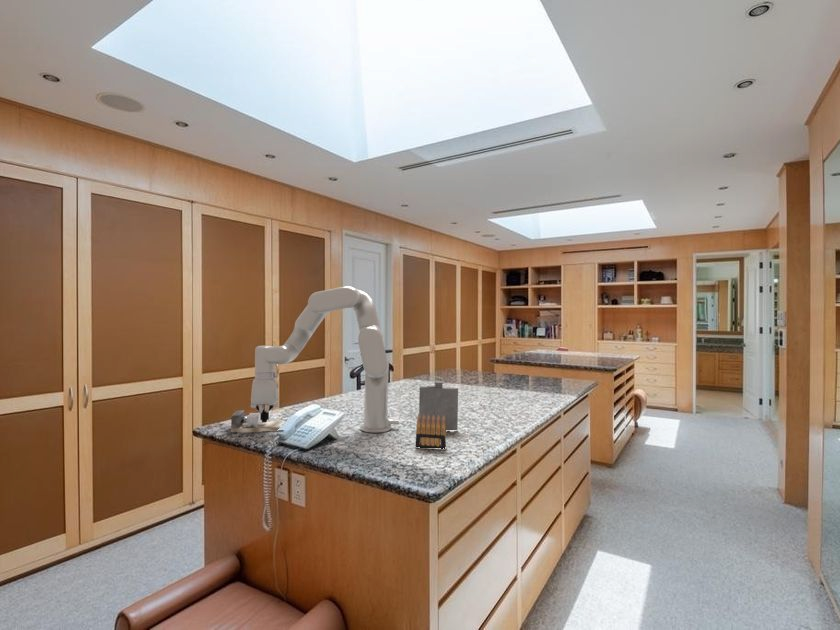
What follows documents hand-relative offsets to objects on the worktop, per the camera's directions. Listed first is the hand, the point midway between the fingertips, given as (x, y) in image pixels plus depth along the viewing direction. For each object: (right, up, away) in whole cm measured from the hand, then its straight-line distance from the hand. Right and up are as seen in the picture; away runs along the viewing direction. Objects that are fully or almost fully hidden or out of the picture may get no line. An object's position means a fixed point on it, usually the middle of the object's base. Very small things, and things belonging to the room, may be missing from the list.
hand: (264, 421), depth 175 cm
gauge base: (-2, -3, 0) cm, 3 cm away
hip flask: (+70, -4, +2) cm, 70 cm away
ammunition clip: (+67, -4, -22) cm, 70 cm away
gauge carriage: (-5, -1, -2) cm, 6 cm away
